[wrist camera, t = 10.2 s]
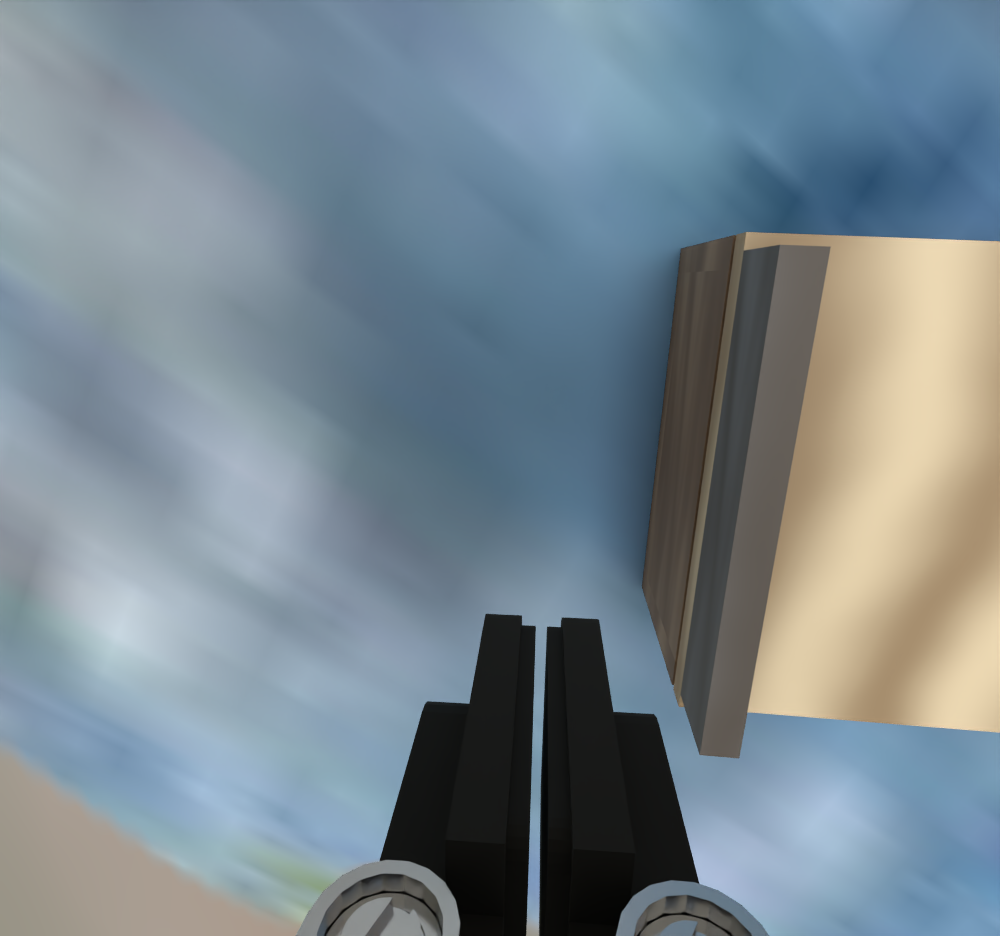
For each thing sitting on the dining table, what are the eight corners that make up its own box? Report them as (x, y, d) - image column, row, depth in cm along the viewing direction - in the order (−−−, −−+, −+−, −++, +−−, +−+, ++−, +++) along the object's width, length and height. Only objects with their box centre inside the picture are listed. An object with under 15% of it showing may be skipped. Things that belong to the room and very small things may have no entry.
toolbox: (637, 622, 32) (665, 728, 24) (712, -28, 24) (789, -172, 16) (1064, 653, 31) (1234, 775, 23) (1291, -20, 23) (1664, -172, 15)
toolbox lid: (673, 689, 24) (697, 768, 20) (736, 234, 19) (783, 222, 15) (1124, 724, 23) (1241, 814, 19) (1303, 255, 18) (1506, 249, 14)
